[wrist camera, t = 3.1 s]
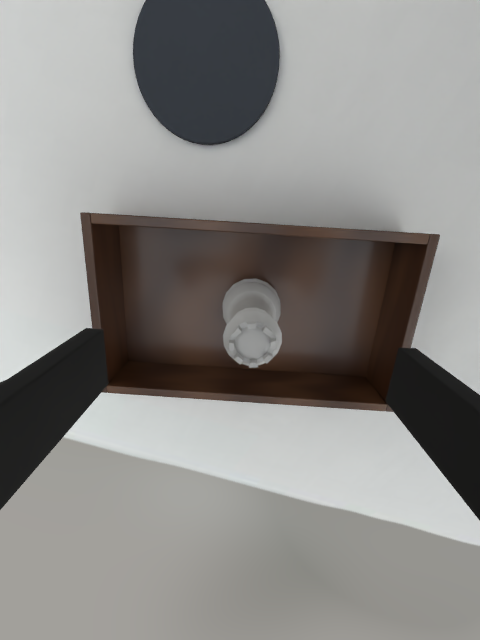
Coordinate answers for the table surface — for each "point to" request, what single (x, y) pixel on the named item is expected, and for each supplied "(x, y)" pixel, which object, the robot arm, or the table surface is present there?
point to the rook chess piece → (252, 322)
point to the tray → (295, 305)
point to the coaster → (206, 65)
